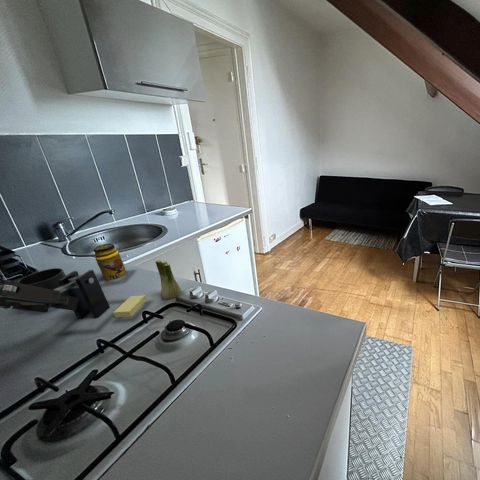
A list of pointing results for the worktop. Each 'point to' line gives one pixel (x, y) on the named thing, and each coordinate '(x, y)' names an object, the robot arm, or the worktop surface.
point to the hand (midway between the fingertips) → (61, 305)
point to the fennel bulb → (167, 281)
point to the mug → (44, 279)
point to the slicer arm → (63, 287)
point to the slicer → (86, 294)
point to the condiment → (109, 262)
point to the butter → (130, 306)
